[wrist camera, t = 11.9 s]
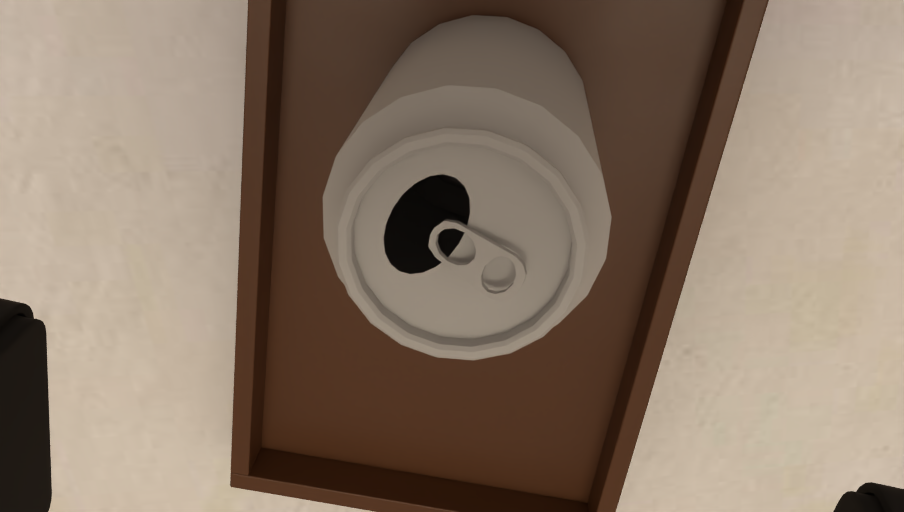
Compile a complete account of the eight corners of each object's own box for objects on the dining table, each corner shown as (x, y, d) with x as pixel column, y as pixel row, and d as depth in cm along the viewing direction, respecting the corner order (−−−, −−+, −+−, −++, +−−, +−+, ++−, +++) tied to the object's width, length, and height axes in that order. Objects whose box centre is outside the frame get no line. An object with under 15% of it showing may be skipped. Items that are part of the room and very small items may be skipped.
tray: (276, -154, 29) (253, -154, 26) (768, -75, 28) (789, -68, 26) (247, 449, 40) (229, 487, 38) (600, 509, 40) (604, 551, 37)
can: (445, -32, 29) (394, 40, 18) (629, 79, 30) (682, 208, 20) (349, 148, 32) (257, 300, 22) (519, 242, 33) (512, 432, 23)
